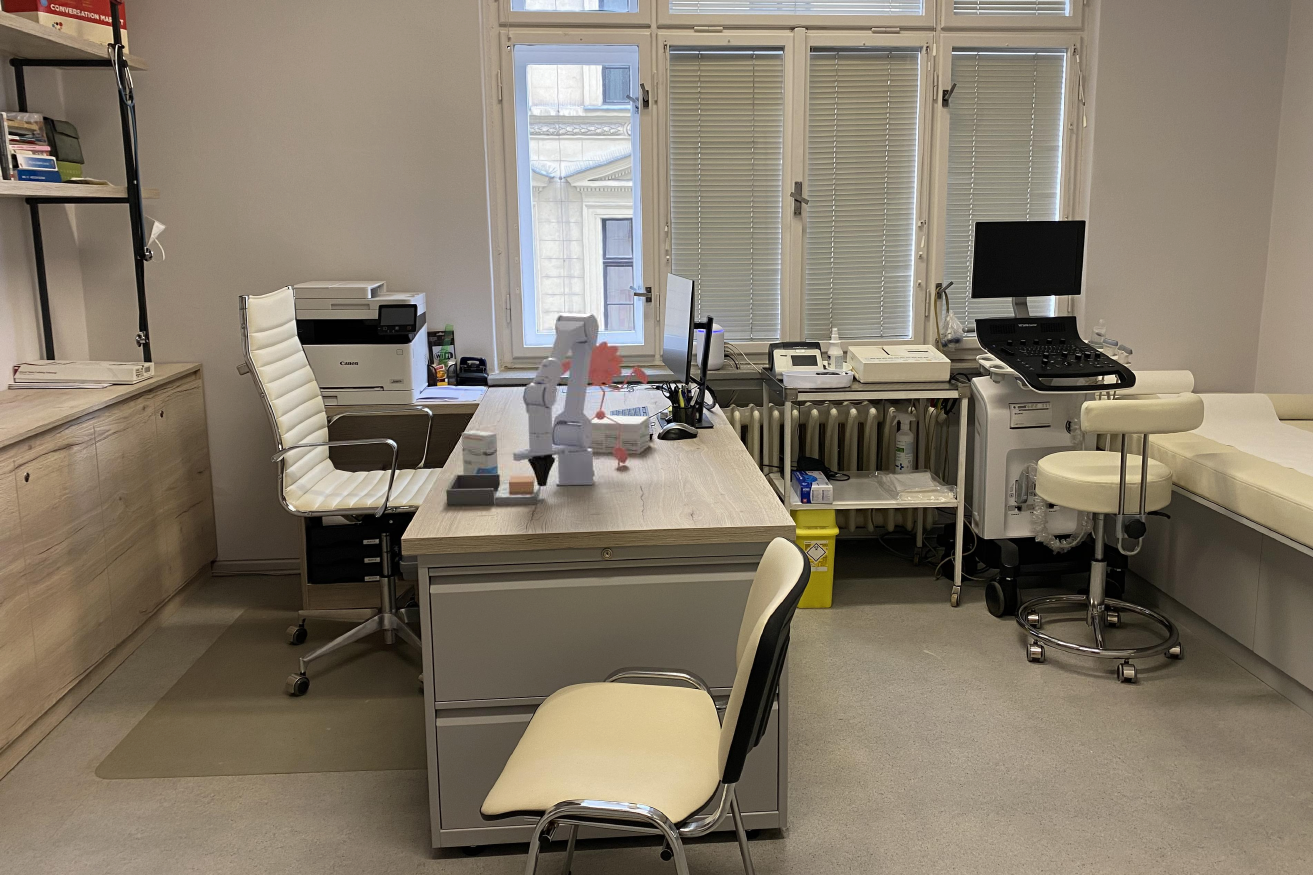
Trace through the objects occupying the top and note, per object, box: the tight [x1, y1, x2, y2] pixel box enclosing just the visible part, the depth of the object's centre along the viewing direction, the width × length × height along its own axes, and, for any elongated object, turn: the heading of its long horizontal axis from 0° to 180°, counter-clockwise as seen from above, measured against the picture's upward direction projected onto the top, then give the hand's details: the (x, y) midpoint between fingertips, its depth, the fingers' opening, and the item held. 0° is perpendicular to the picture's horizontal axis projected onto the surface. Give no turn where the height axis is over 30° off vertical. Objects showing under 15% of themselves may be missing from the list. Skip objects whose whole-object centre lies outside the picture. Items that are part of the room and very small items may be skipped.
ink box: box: [461, 430, 499, 474], centre depth 273 cm, size 8×5×12 cm, turn 59°
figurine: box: [561, 341, 649, 470], centre depth 283 cm, size 15×26×35 cm, turn 95°
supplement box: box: [588, 414, 651, 455], centre depth 307 cm, size 17×13×9 cm
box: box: [445, 473, 501, 507], centre depth 250 cm, size 11×16×4 cm
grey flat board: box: [494, 480, 541, 506], centre depth 251 cm, size 10×16×2 cm, turn 3°
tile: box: [508, 475, 536, 492], centre depth 251 cm, size 6×6×2 cm
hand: (541, 485), depth 251 cm, fingers closed
